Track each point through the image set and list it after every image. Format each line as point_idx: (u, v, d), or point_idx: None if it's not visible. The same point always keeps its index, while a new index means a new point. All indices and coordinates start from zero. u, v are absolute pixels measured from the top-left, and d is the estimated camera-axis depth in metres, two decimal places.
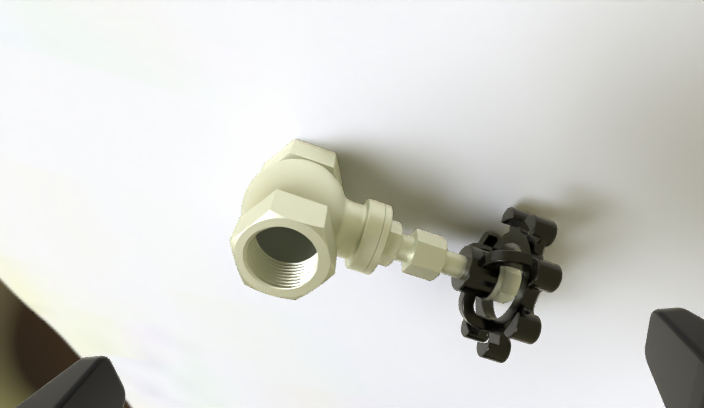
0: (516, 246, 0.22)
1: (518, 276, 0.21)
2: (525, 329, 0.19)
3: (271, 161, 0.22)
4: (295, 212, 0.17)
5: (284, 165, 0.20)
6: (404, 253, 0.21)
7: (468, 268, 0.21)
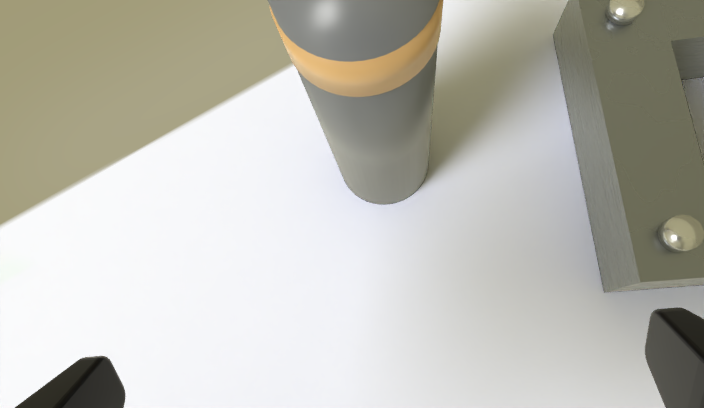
0: None
1: None
2: None
3: None
4: None
5: None
6: None
7: None
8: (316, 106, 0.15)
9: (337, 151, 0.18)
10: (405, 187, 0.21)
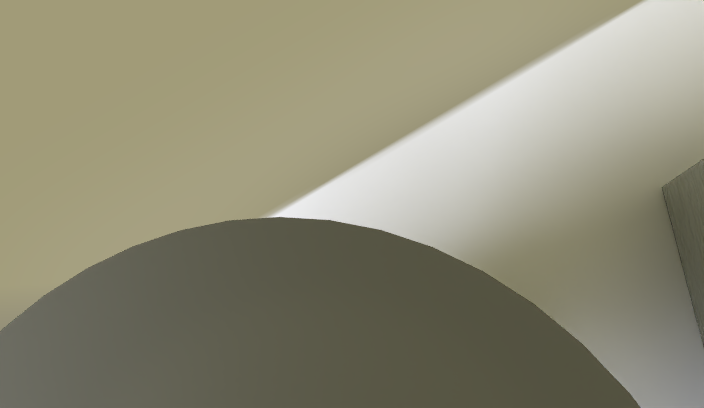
0: None
1: None
2: None
3: None
4: None
5: None
6: None
7: None
8: None
9: None
10: None
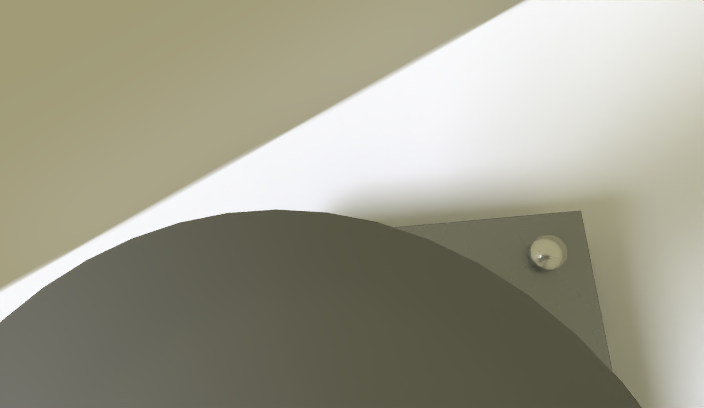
0: None
1: None
2: None
3: None
4: None
5: None
6: None
7: None
8: None
9: None
10: None
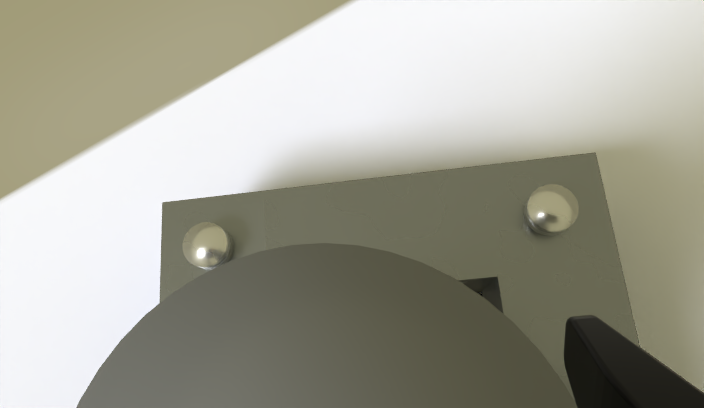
0: None
1: None
2: None
3: None
4: None
5: None
6: None
7: None
8: None
9: None
10: None
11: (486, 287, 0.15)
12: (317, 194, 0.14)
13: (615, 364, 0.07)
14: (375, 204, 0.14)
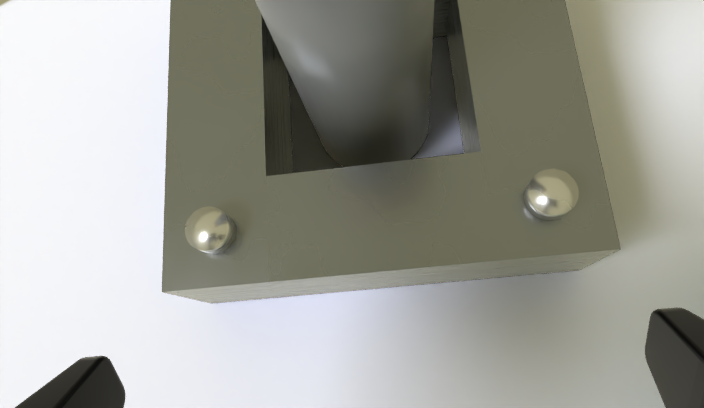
0: None
1: None
2: None
3: None
4: None
5: None
6: None
7: None
8: (259, 0, 0.10)
9: (302, 87, 0.13)
10: (399, 147, 0.16)
11: (448, 16, 0.18)
12: None
13: None
14: None
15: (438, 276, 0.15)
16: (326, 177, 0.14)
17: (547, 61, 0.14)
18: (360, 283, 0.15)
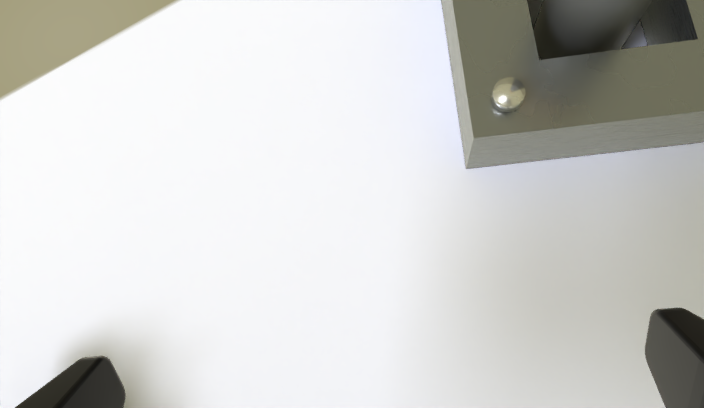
0: None
1: None
2: None
3: None
4: None
5: None
6: None
7: None
8: None
9: None
10: (615, 48, 0.22)
11: None
12: None
13: None
14: None
15: (655, 135, 0.21)
16: (585, 59, 0.20)
17: None
18: (597, 141, 0.21)
